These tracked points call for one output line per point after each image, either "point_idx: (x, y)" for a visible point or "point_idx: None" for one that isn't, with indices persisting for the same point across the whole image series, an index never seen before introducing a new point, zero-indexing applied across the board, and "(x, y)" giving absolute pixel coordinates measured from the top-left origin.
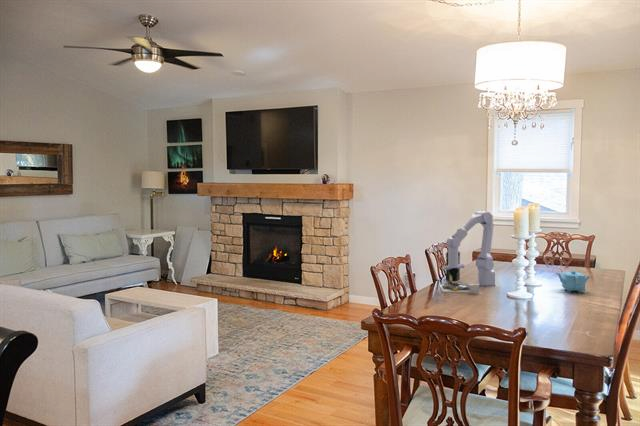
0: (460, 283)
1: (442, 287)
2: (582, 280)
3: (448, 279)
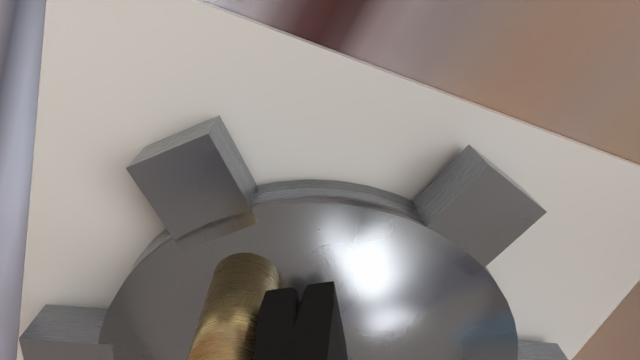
0: (452, 291)
1: (43, 311)
2: None
3: None
